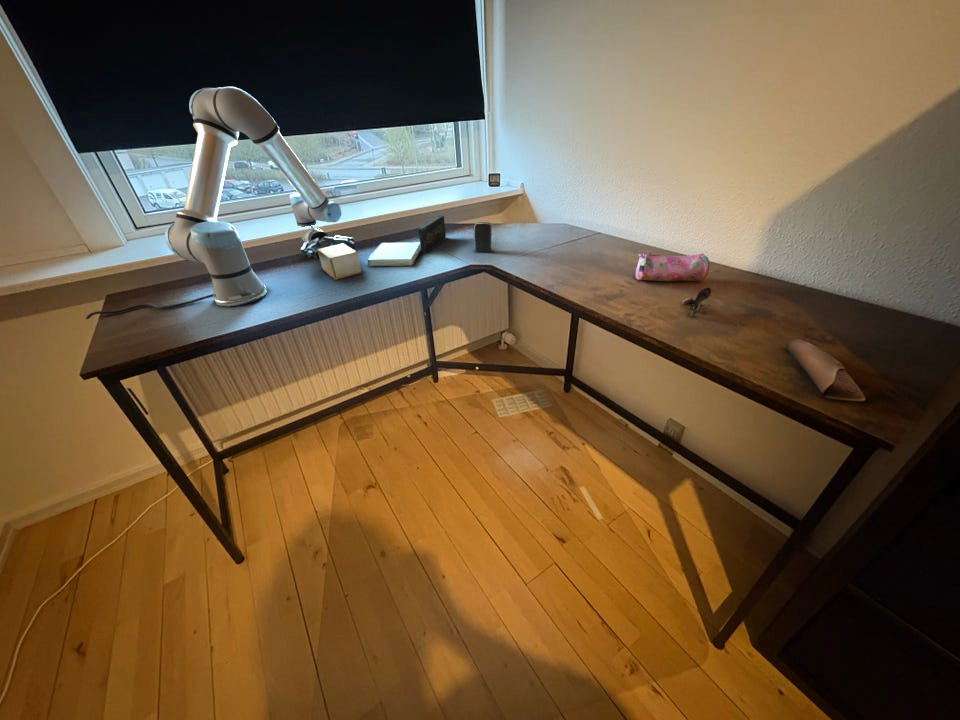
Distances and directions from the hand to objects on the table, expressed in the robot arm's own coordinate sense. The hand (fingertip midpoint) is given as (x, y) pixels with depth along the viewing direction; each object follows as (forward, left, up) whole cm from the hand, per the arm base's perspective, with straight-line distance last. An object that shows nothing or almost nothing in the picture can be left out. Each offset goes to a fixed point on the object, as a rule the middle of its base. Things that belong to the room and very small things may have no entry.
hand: (336, 251), depth 138 cm
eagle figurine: (+116, -33, -8) cm, 121 cm away
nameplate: (+31, +29, -8) cm, 43 cm away
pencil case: (+116, -11, -8) cm, 117 cm away
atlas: (+17, +15, -8) cm, 24 cm away
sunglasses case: (+131, -63, -8) cm, 146 cm away
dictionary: (0, 0, -8) cm, 8 cm away
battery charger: (+53, +21, -8) cm, 58 cm away
